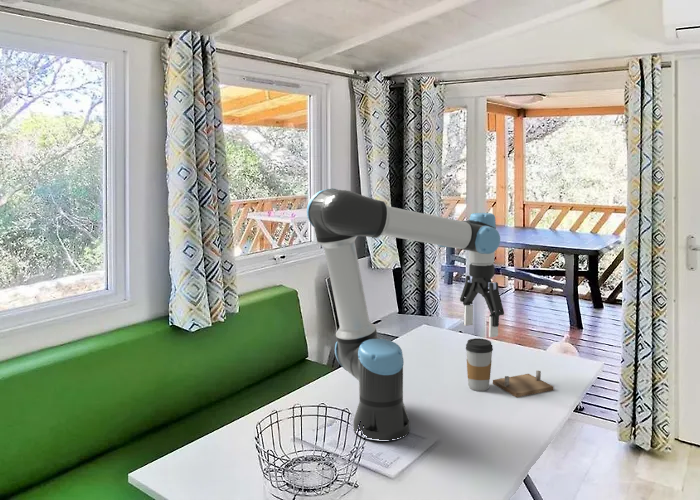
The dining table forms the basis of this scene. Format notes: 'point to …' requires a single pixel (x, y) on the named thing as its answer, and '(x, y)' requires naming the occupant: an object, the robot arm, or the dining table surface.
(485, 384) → the coffee cup
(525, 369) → the dining table surface
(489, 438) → the dining table surface
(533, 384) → the wooden board with pegs
